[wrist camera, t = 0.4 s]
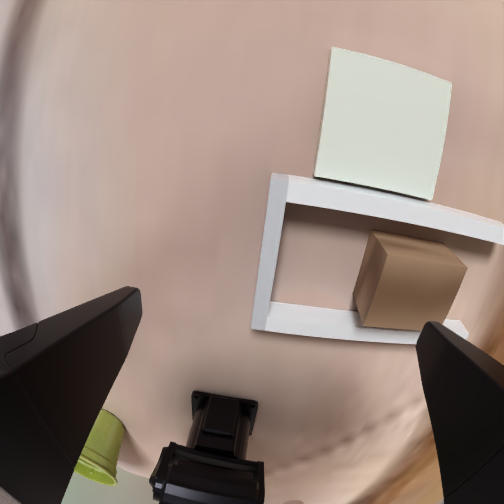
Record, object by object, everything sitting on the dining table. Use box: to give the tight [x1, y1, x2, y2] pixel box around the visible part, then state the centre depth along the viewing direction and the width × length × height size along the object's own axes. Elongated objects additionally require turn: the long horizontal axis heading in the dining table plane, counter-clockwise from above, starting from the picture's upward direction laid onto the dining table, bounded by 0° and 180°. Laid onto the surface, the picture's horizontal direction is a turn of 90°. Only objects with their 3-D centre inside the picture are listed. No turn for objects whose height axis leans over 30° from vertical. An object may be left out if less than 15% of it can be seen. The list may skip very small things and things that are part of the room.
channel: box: [251, 172, 504, 344], centre depth 19 cm, size 10×18×2 cm, turn 83°
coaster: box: [313, 47, 452, 200], centre depth 16 cm, size 8×8×1 cm
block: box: [353, 230, 467, 330], centre depth 19 cm, size 5×6×4 cm
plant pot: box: [74, 410, 125, 486], centre depth 29 cm, size 9×9×9 cm
